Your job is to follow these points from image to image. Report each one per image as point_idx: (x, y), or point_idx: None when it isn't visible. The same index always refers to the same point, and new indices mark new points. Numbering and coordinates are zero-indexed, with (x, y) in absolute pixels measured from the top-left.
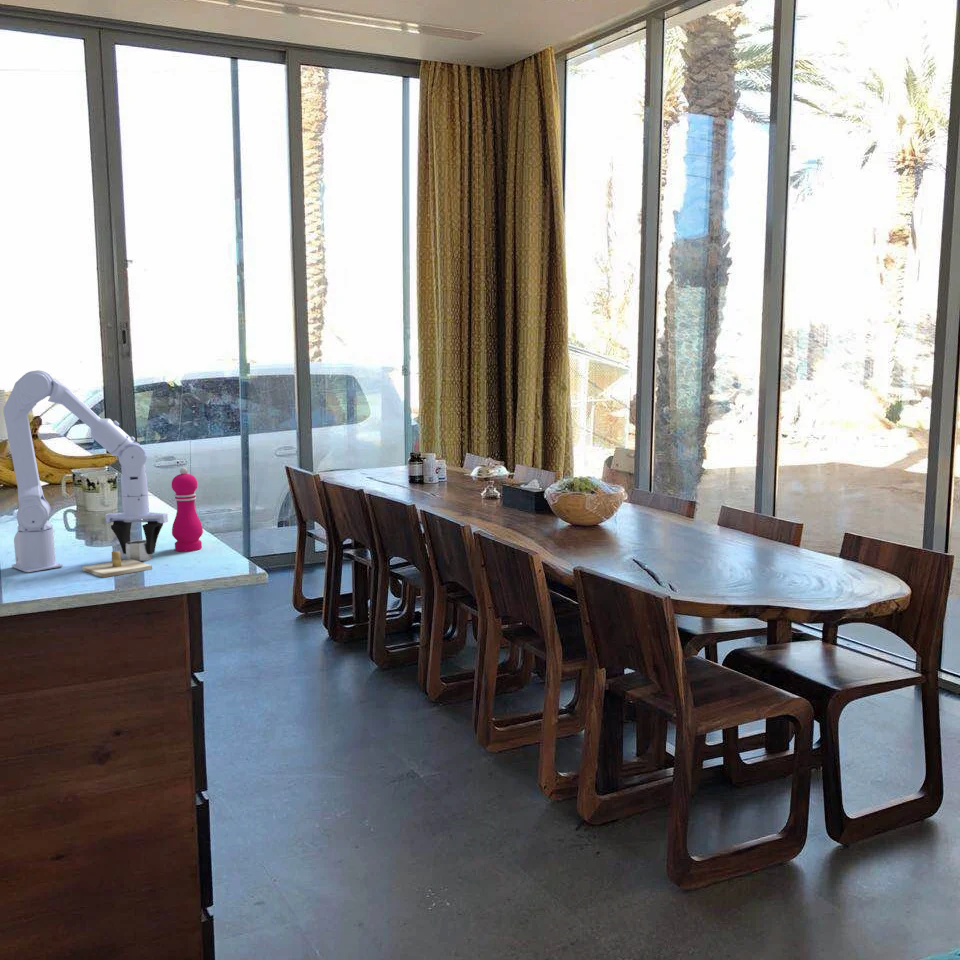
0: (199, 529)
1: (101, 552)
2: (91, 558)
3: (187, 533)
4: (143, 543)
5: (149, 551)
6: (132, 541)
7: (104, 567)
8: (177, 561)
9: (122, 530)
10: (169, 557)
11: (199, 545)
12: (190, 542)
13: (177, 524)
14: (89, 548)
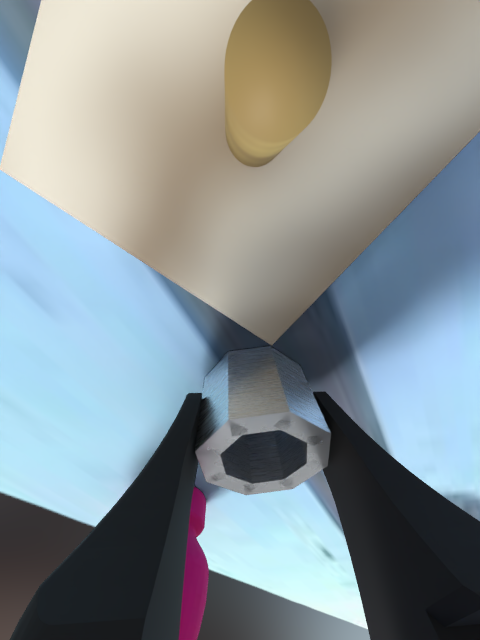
0: None
1: (429, 451)
2: (454, 384)
3: None
4: (211, 438)
5: (185, 401)
6: (306, 467)
7: (336, 61)
8: (51, 364)
9: (398, 540)
10: (147, 418)
11: None
12: None
13: None
14: (471, 480)
